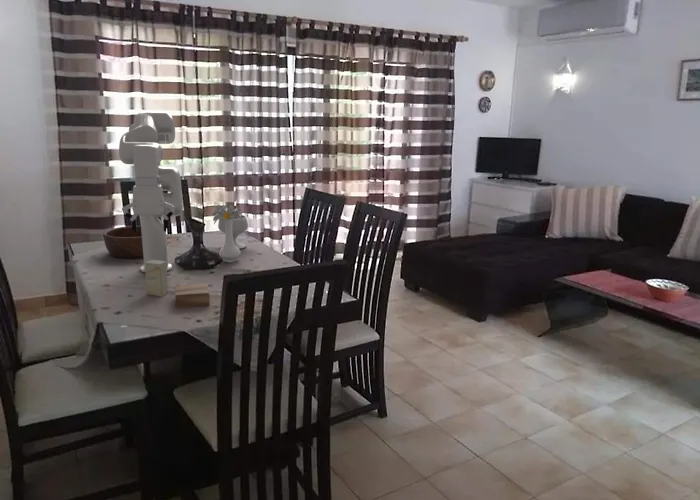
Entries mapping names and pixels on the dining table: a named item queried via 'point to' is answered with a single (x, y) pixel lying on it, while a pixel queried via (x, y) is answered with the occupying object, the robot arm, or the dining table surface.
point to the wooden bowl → (124, 242)
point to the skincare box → (156, 277)
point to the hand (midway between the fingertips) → (150, 231)
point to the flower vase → (228, 231)
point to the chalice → (235, 229)
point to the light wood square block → (192, 295)
